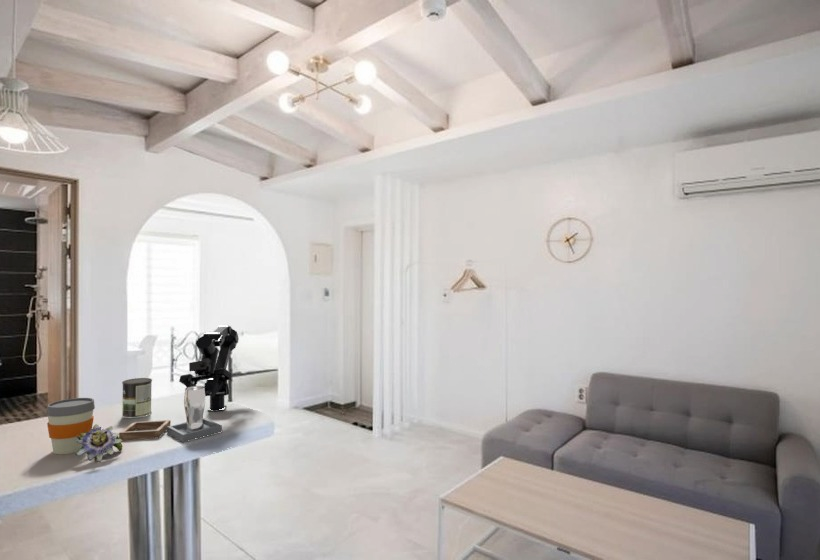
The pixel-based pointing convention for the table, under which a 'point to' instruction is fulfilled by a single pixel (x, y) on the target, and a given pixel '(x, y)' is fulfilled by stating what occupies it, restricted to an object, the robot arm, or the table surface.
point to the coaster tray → (182, 435)
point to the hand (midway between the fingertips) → (201, 398)
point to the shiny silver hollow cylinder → (194, 407)
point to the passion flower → (98, 442)
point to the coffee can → (136, 397)
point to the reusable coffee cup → (69, 423)
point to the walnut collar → (131, 434)
